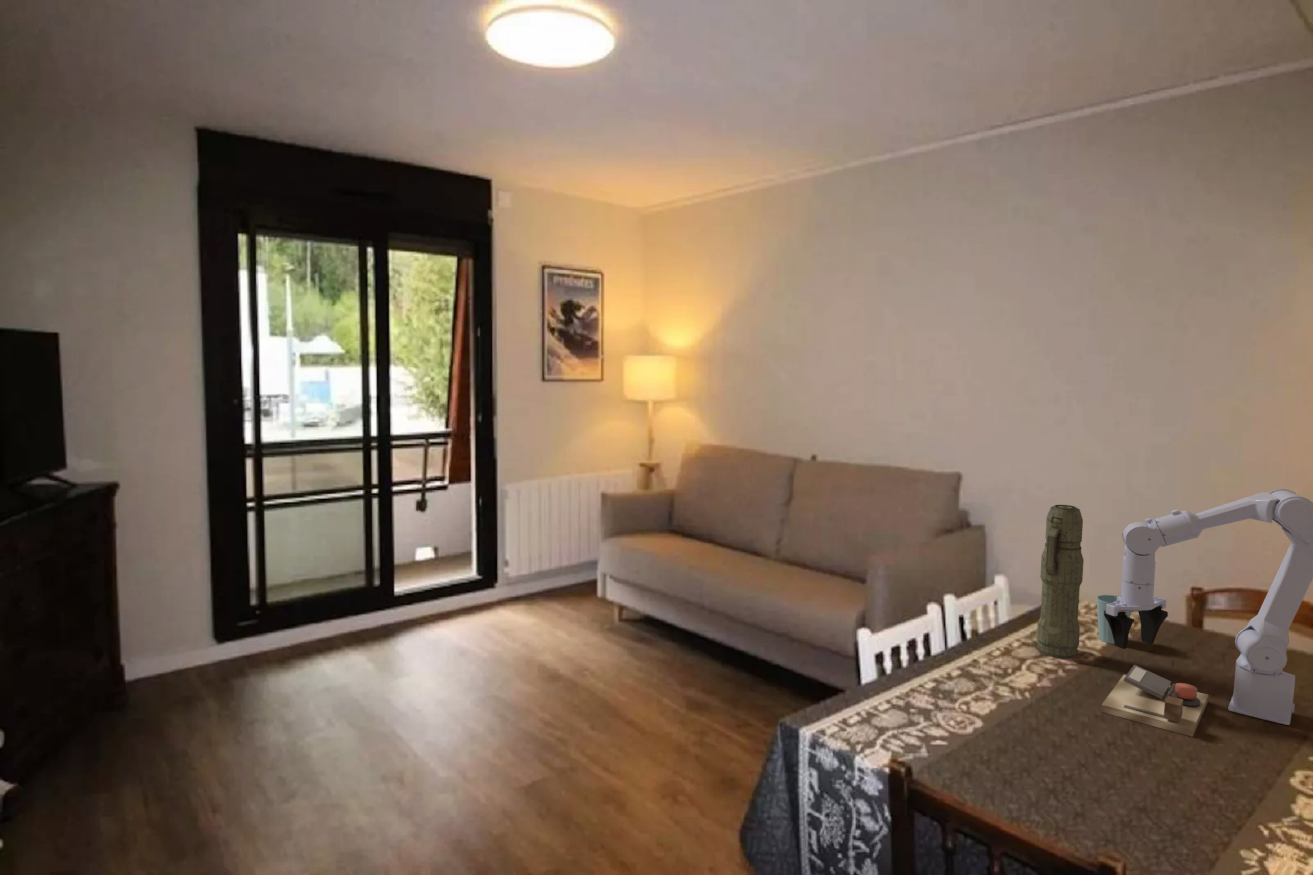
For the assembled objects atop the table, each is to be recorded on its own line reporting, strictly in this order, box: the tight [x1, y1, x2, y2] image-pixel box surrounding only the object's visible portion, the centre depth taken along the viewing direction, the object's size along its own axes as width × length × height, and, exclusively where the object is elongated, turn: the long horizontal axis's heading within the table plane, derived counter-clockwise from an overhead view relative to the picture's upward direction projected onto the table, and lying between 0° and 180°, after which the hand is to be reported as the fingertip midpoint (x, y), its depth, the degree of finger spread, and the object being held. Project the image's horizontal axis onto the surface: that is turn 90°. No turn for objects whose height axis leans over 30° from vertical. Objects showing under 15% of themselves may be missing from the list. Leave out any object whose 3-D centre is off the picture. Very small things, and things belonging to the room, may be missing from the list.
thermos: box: [1036, 504, 1084, 660], centre depth 182 cm, size 9×12×35 cm
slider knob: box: [1164, 696, 1183, 722], centre depth 146 cm, size 2×4×3 cm, turn 138°
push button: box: [1174, 682, 1198, 700], centre depth 154 cm, size 4×4×2 cm
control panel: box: [1100, 674, 1209, 738], centre depth 155 cm, size 15×20×2 cm
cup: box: [1096, 594, 1132, 645], centre depth 190 cm, size 8×8×10 cm
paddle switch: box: [1124, 664, 1172, 699], centre depth 159 cm, size 7×9×1 cm
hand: (1133, 644), depth 161 cm, fingers open, 7 cm apart
